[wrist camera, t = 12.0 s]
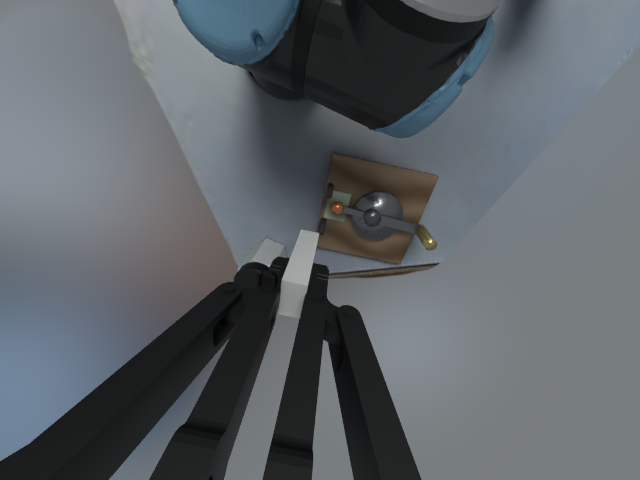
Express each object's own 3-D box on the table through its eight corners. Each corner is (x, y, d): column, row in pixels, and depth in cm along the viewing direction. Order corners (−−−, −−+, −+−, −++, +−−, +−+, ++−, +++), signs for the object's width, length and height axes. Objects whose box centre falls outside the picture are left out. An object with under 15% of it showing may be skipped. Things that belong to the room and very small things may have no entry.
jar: (290, 268, 57) (278, 302, 46) (259, 269, 58) (240, 303, 47) (283, 236, 53) (268, 266, 42) (250, 238, 54) (227, 268, 43)
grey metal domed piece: (324, 224, 48) (321, 242, 41) (337, 178, 43) (336, 190, 36) (412, 247, 49) (423, 269, 42) (434, 204, 44) (451, 221, 37)
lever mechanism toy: (332, 153, 43) (330, 159, 36) (435, 174, 43) (452, 185, 36) (314, 243, 53) (310, 261, 46) (399, 260, 53) (406, 281, 46)
